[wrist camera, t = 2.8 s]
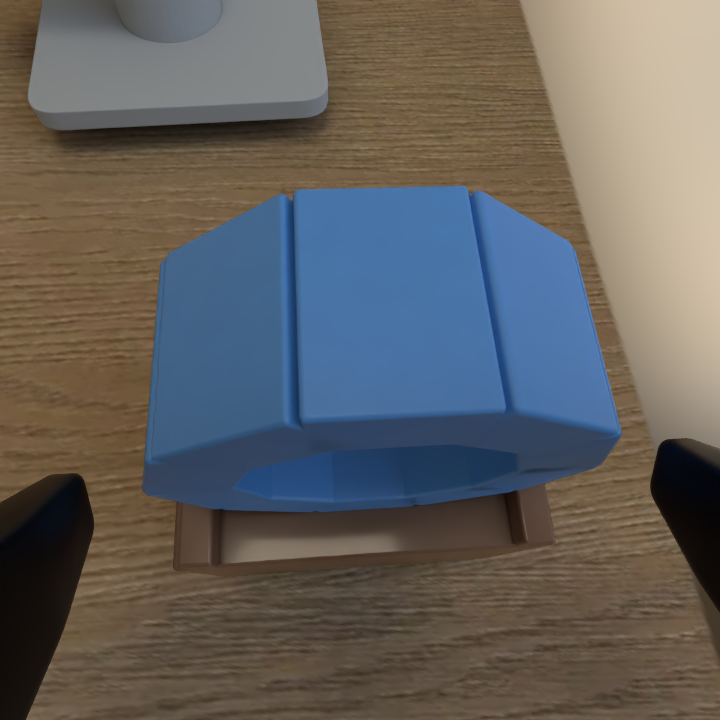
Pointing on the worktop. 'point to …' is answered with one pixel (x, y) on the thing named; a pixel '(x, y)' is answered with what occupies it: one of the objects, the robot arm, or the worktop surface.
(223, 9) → the shower valve
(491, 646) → the worktop surface
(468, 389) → the tape roll
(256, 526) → the tape cradle
